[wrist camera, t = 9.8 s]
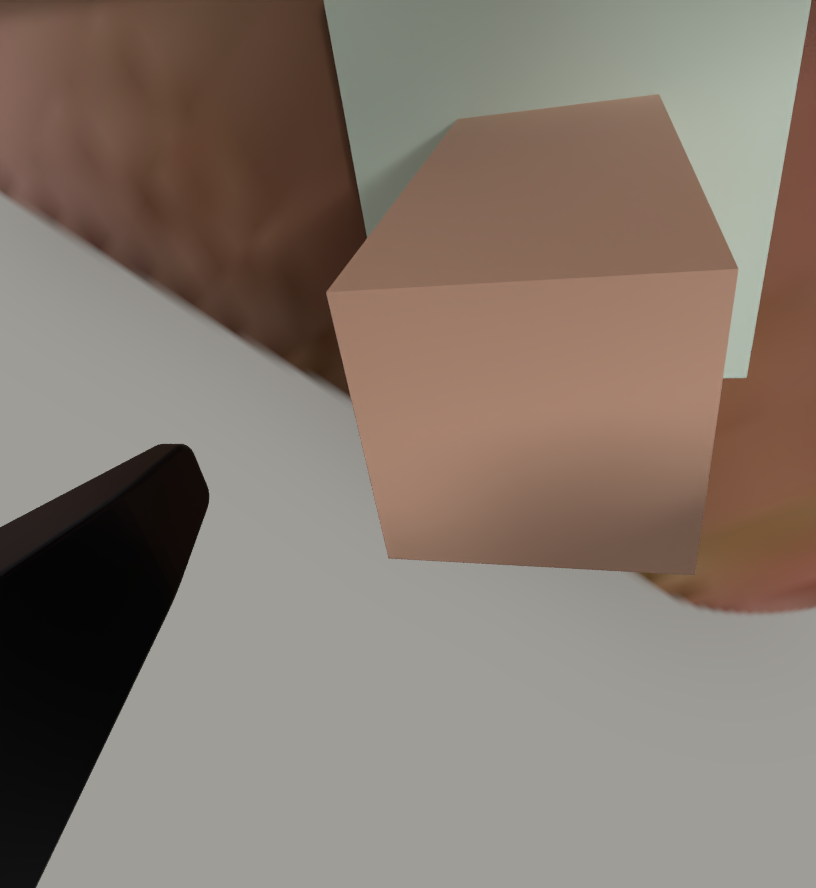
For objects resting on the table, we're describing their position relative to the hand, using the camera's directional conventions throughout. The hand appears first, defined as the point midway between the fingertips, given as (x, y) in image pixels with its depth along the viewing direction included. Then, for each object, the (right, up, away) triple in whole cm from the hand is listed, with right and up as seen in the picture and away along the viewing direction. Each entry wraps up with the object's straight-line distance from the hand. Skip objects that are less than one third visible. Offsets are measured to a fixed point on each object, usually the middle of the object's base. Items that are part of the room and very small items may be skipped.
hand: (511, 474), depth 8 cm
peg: (+2, +6, +8) cm, 11 cm away
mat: (+2, +7, +8) cm, 11 cm away
